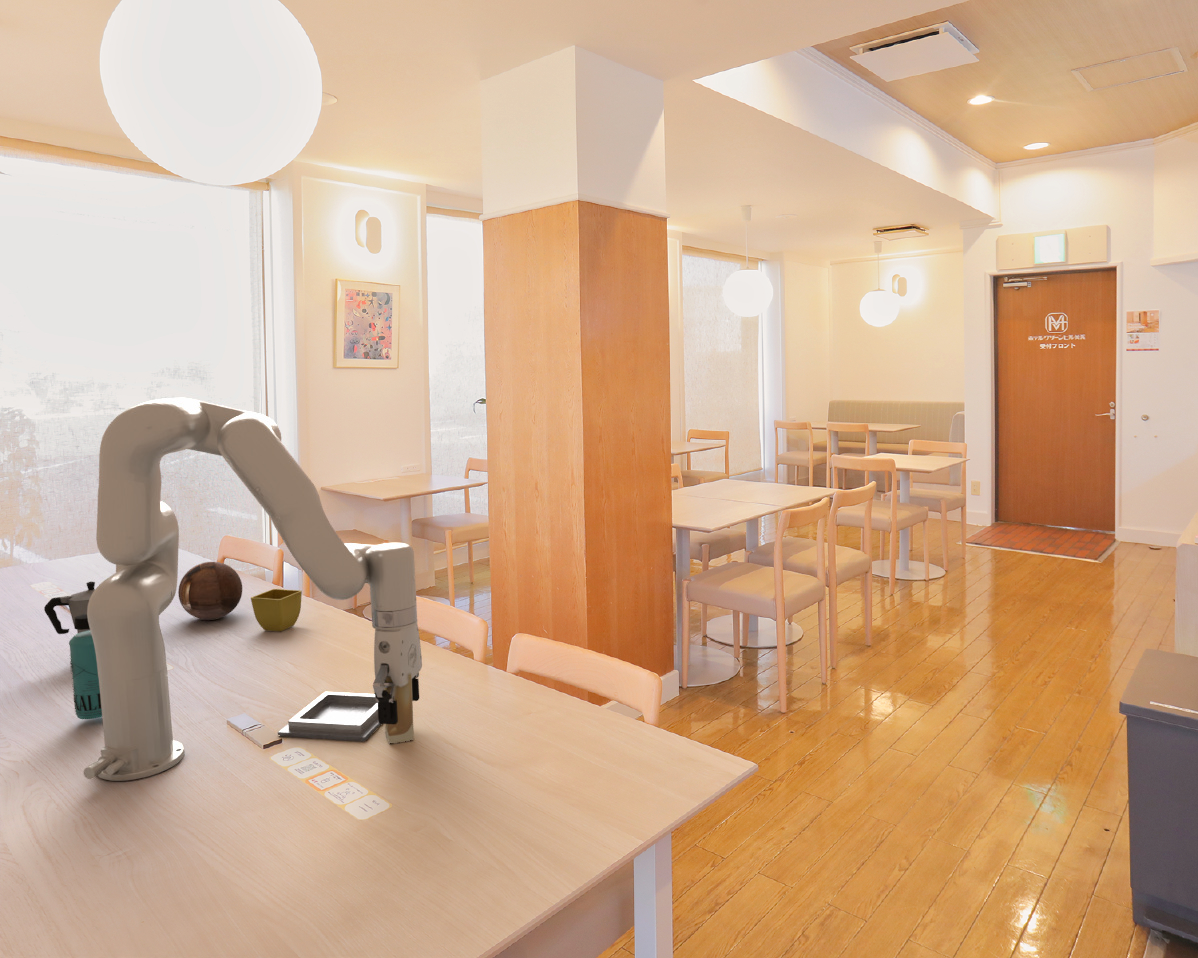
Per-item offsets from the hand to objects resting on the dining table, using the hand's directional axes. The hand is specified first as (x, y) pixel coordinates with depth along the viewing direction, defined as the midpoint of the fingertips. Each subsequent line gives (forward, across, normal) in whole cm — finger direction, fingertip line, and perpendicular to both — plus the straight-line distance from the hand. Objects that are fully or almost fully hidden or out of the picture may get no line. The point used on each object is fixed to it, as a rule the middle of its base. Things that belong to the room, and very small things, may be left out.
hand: (399, 711), depth 139 cm
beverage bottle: (+4, -1, +58) cm, 58 cm away
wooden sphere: (+4, +60, +76) cm, 97 cm away
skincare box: (+5, 0, 0) cm, 5 cm away
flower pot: (+4, +54, +54) cm, 77 cm away
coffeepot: (+4, +27, +83) cm, 88 cm away
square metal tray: (+4, +5, +13) cm, 15 cm away
